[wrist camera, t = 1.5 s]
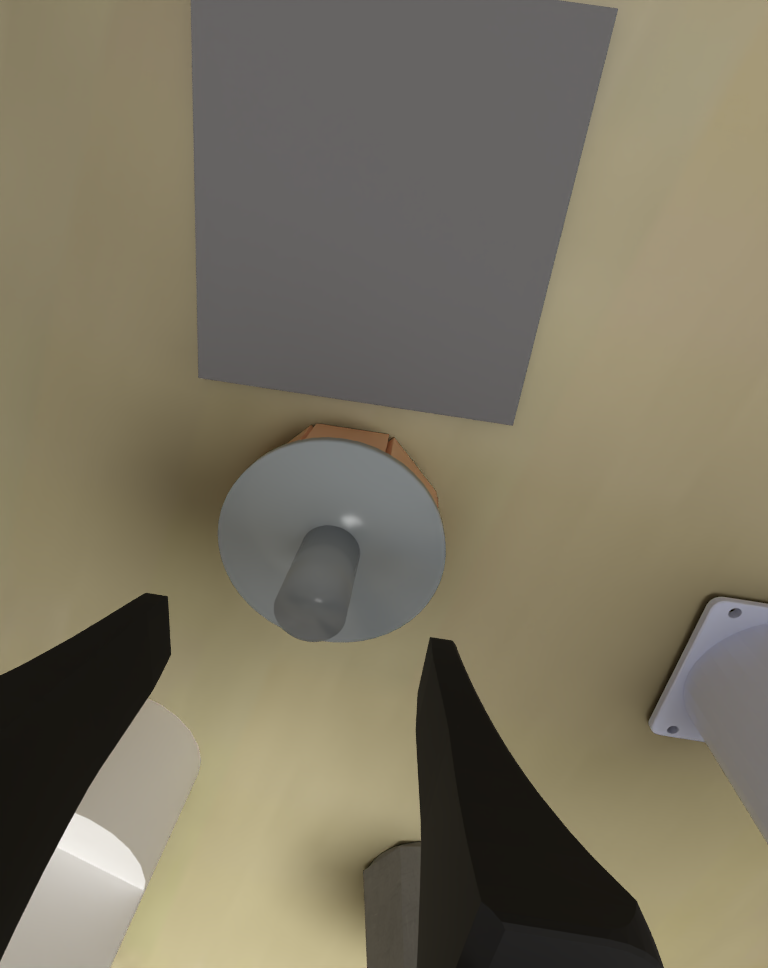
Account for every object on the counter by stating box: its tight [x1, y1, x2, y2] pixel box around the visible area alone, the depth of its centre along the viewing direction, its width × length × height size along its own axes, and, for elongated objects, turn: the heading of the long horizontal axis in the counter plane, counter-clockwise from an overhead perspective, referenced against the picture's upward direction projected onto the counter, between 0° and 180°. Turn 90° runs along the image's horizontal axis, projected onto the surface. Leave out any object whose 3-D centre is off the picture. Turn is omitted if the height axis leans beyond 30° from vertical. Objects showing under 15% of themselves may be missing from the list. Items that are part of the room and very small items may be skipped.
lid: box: [218, 437, 446, 642], centre depth 16 cm, size 8×8×4 cm
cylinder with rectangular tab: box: [0, 699, 201, 968], centre depth 22 cm, size 9×9×12 cm
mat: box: [191, 0, 618, 425], centre depth 16 cm, size 12×12×1 cm
